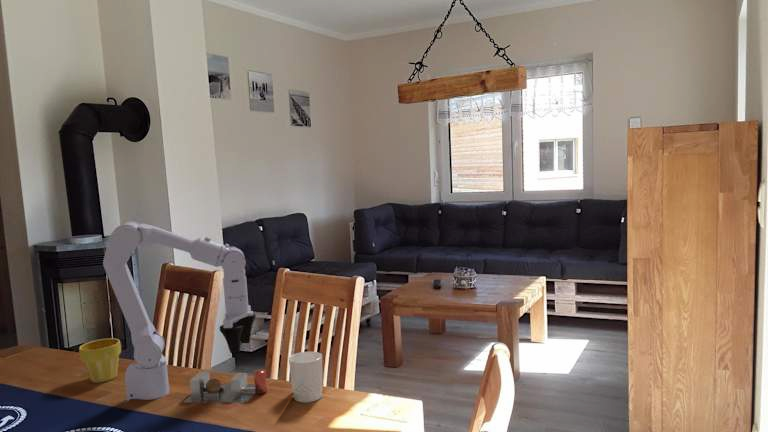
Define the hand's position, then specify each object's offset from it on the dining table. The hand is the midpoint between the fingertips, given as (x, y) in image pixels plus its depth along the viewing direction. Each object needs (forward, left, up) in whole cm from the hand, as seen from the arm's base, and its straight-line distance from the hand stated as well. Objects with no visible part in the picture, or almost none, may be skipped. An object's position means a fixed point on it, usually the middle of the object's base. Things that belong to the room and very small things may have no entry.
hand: (240, 347), depth 154 cm
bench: (-2, -8, -10) cm, 13 cm away
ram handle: (+5, -8, -8) cm, 13 cm away
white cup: (+19, -8, -10) cm, 23 cm away
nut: (-4, -8, -9) cm, 13 cm away
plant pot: (-42, +6, -10) cm, 44 cm away
